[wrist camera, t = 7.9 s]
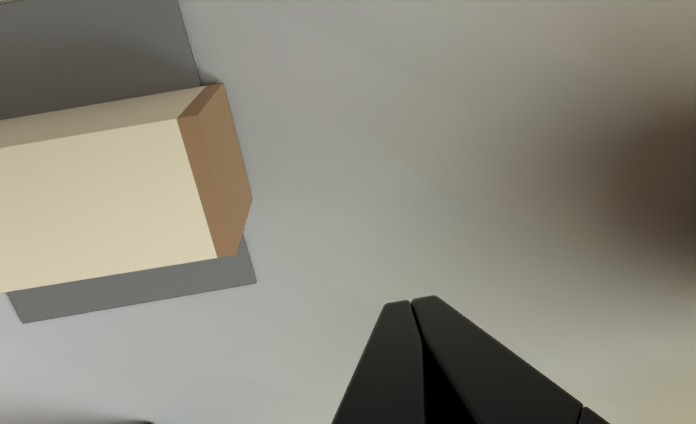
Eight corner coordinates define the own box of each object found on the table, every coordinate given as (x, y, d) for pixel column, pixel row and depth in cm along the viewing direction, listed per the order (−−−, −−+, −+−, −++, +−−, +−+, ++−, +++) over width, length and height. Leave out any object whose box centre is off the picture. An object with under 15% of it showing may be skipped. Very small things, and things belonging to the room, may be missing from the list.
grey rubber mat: (169, -28, 18) (168, -28, 18) (256, 280, 23) (255, 283, 23) (-124, 28, 18) (-129, 28, 18) (24, 320, 23) (22, 323, 23)
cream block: (197, 115, 15) (-116, 167, 16) (236, 254, 17) (-44, 300, 17) (223, 82, 19) (-25, 124, 20) (252, 198, 21) (25, 235, 21)
